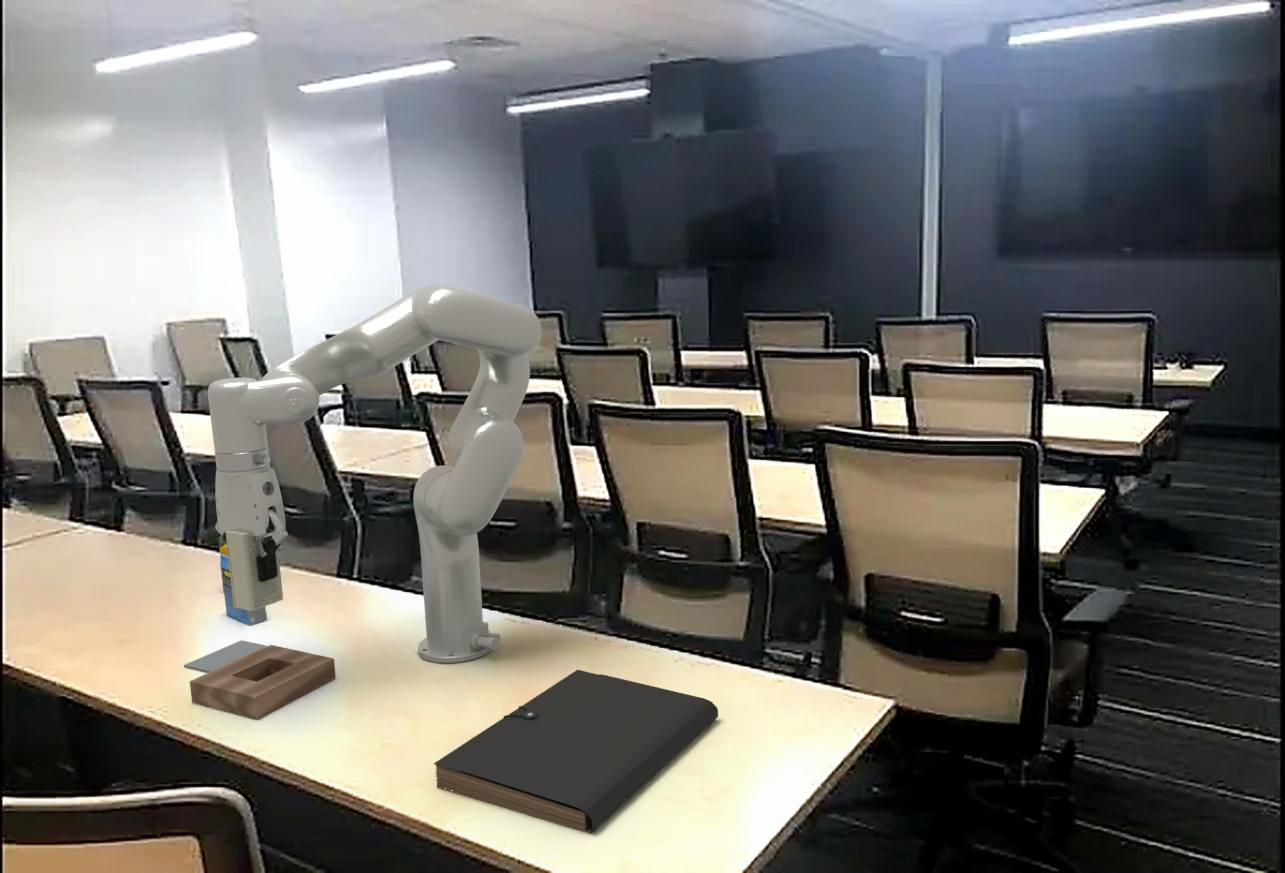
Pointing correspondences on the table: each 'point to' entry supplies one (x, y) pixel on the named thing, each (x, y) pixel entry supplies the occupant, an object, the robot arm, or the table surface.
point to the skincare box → (250, 574)
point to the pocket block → (262, 681)
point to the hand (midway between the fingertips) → (256, 575)
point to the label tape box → (232, 612)
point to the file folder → (576, 748)
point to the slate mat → (224, 656)
